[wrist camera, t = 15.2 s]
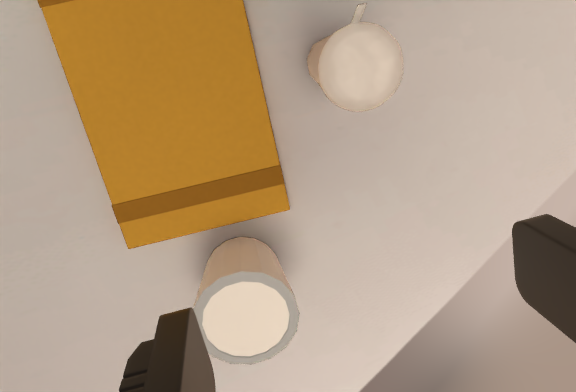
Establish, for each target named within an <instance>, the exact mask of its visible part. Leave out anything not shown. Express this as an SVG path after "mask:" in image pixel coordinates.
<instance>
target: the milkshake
mask: <svg viewBox="0 0 576 392" xmlns="http://www.w3.org/2000/svg"><path fill="white" fill-rule="evenodd" d="M366 5H367V3H362V4H358V5H357V8H356V10H355V13H354V16H353V19H352V21H351V24H350V25H347V26H345V27H343V28H341V29H339V30H338V31H336V32H335V33H333V34H332V35H329V36H327V37H325V38H324V39H322V40H320V41H319V42H317V43H315V44H313V46H312V48H311V50H310V53H309V55H308V57H307V65H308V70H309V75H310V76H311V77H312V78H313V79H314V80H315V81H316V82H317V83H318V84H319V86H320V87H321V88H322V90H323V91H324V93H325V95H326V96H327V97H328V99H329V100H330V101H331V102H333V103H334V104H335V105H337V106H339V107H341V108H343V109H346V110H349V111H353V112H361V111H367V110H371V109H374V108H376V107H378V106H380V105H381V104H383V103H384V102H385V101H387V100H388V99H389V98H390V97H391V96H392V95H393V93H394V92H395V91H396V90H397V88H398V86H399V84H400V82H401V79H402V75H403V56H402V51H401V47H400V45H399V43H398V42H397V41H396V39H395V38H394V37H393V36H392V35H391V34H390V33H389V32H388V31H387V30H386V29H384V28H383V27H381V26H379V25H377V24H374V23H368V22H360V20H361V17H362V15H363V12H364V10H365V8H366Z"/></svg>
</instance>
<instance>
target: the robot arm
mask: <svg viewBox="0 0 576 392" xmlns="http://www.w3.org/2000/svg"><path fill="white" fill-rule="evenodd" d="M512 238H513V253H514V267H515V280H516V284H517V287H518V290H519V292H520V294H521V296H522V297H523V299H524V300H525V301H526V302H527V303H528V304H529V305H530V306H531V307H533V308H534V309H535V310H536V311H538V312H539V313H540V314H541V315H542V316H543V317H545V318H546V319H547V320H548V321H550V322H551V323H552V324H553V325H554V326H556V327H557V328H558V329H559V330H561V331H562V332H563V333H564V334H565V335H567V336H568V337H569V338H570V339H572V340H573V341H574V342H575V343H576V227H573V226H571V225H569V224H567V223H565V222H563V221H561V220H559V219H557V218H555V217H553V216H551V215H548V214H544V215H541V216H537V217H533V218H529V219H525V220H522V221H518V222H516V223H515V224H514V225H513V229H512ZM123 378H124V379H122V381H121V385H120V388H119V392H215V379H214V373H213V368H212V364H211V361H210V358H209V354H208V351H207V348H206V345H205V342H204V339H203V336H202V333H201V330H200V327H199V324H198V321H197V318H196V315H195V312H194V310H193V309H192V308H187V309H183V310H179V311H175V312H172V313H168V314H164V315H161V316H160V317H159V320H158V325H157V329H156V334H155V338H154V339H153V340H149V341H145V342H142V343H141V344H140V345H139V346H138V347H137V349H136V350H135V351H134V352H133V354H132V355H131V356H130V357H129V359H128V361H127V364H126V368H125V371H124V375H123Z"/></svg>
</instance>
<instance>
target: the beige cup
mask: <svg viewBox="0 0 576 392" xmlns="http://www.w3.org/2000/svg"><path fill="white" fill-rule="evenodd" d="M193 310H194V312H195V315H196V318H197V321H198V324H199V327H200V330H201V333H202V336H203V339H204V342H205V345H206V348H207V351H208V353H209V354H210V355H211V356H212V357H215V358H217V359H220V360H222V361H225V362H227V363H230V364H250V365H251V364H254V363H258V362H261V361H264V360H268V359H271V358H272V357H273V356H275V355H276V354H277V353H279V352H280V351H282V350H283V349H284V348H286V347H287V345H288V344H289V342H290V341H291V339H292V338H293V336H294V334H295V333H296V331H297V326H298V320H299V314H300V313H299V310H298V306H297V303H296V299H295V296H294V294H293V292H292V289H291V287H290V285H289V283H288V281H287V279H286V276H285V274H284V272H283V270H282V268H281V265H280V263H279V261H278V259H277V257H276V255H275V253H274V252H273V251H272V250H271V249H270V248H269V246H268V245H267V244H265V243H263V242H261V241H259V240H257V239H255V238H247V237H238V238H234V239H231V240H227V241H225V242H224V243H222V244H221V245H220V246H218V247H217V248H216V249H214V251H213V253H212V254H211V256H210V258H209V260H208V261H207V265H206V268H205V271H204V274H203V278H202V281H201V284H200V288H199V291H198V294H197V298H196V301H195V304H194V307H193Z"/></svg>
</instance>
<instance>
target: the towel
mask: <svg viewBox="0 0 576 392" xmlns="http://www.w3.org/2000/svg"><path fill="white" fill-rule="evenodd" d="M38 3H39V6H40V7H41V8H42V11H43V14H44V17H45V20H46V22H47V25H48V28H49V31H50V33H51V36H52V39H53V42H54V44H55V47H56V50H57V53H58V56H59V58H60V61H61V64H62V67H63V69H64V72H65V75H66V78H67V81H68V83H69V86H70V89H71V92H72V94H73V97H74V100H75V103H76V105H77V108H78V111H79V114H80V117H81V119H82V122H83V125H84V128H85V130H86V133H87V136H88V139H89V141H90V144H91V147H92V150H93V153H94V155H95V158H96V161H97V164H98V166H99V169H100V172H101V175H102V178H103V180H104V183H105V186H106V189H107V191H108V194H109V197H110V200H111V202H112V208H113V211H114V213H115V216H116V219H117V222H118V224H119V225H120V227H121V230H122V233H123V236H124V238H125V241H126V244H127V247H128V249H131V248H135V247H139V246H143V245H147V244H152V243H156V242H160V241H164V240H168V239H172V238H176V237H180V236H184V235H188V234H192V233H197V232H201V231H205V230H209V229H213V228H217V227H221V226H225V225H229V224H233V223H238V222H242V221H246V220H250V219H254V218H258V217H262V216H266V215H270V214H274V213H278V212H283V211H287V210H290V206H289V202H288V197H287V193H286V189H285V184H284V179H283V175H282V170H281V166H280V162H279V158H278V153H277V149H276V144H275V140H274V135H273V131H272V127H271V122H270V118H269V113H268V109H267V104H266V100H265V96H264V91H263V87H262V82H261V78H260V73H259V69H258V65H257V60H256V56H255V51H254V47H253V42H252V38H251V34H250V29H249V25H248V20H247V16H246V11H245V7H244V3H243V0H38Z"/></svg>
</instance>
